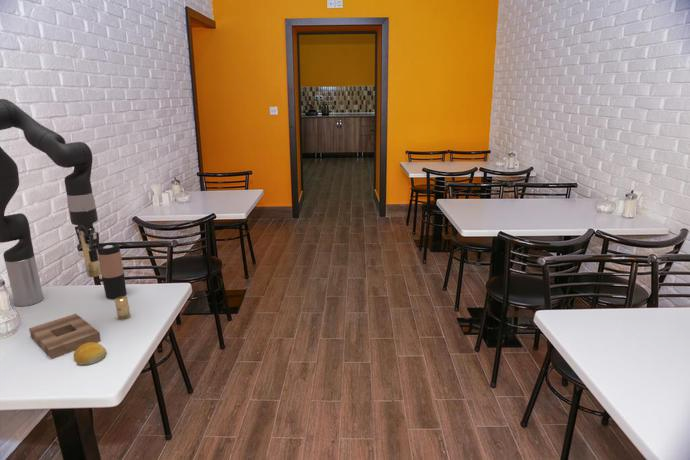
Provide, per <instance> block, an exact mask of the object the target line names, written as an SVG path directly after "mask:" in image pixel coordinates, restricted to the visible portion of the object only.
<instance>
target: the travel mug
mask: <svg viewBox="0 0 690 460" xmlns="http://www.w3.org/2000/svg"><path fill="white" fill-rule="evenodd" d="M120 248H121V247H120V243H118V242H105V243H102V244H99V249H97V253H98V258H99V264H100V270H101V275H100V276H101V280H102V285H103V289H104V290H103V291H104V293H105V298H106V299H107V300H115V298H117V297H121V296H127V287H126V279H125V272H124V266H123V260H122V253H121V249H120Z"/></svg>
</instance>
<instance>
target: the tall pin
mask: <svg viewBox="0 0 690 460" xmlns="http://www.w3.org/2000/svg"><path fill="white" fill-rule="evenodd" d="M80 238H81V243H82V246H81V249H82V253H83V259H84V264H85V265H84V266H85V269H86V275H87V277H88V278H95V277H99V276H102V275H101V269H100V263H99V257H98V261H95V262H91V261H90V257H89V252H88V247H87V244H85V243H84V239H83V236H82V235H81V234H80ZM87 241H89V240H87ZM93 246H94V244H93ZM97 255H98V252H97Z"/></svg>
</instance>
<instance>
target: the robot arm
mask: <svg viewBox="0 0 690 460" xmlns="http://www.w3.org/2000/svg"><path fill="white" fill-rule="evenodd" d="M12 128H16V129H19V130H22V133H23V135H24V139H25V140H26V141H27V143H29V145H31V146H32V147H33V148H35V149H37V150H39V151H41V152H42V153H43V154H46V155H47V157H48V158H49V159H50V160H51V161H52V162H53V163H54V164H55V165H57V166H58V167H61V168H65V169H66V168H67V169H68V168H73V171H72V172H71V173H70V174H68V175H66V176H65V177H64V185H65V192H66V198H67V199H66V201H67V202H66V203H67V208H68V213H69V218H70V222H71V224H72V225H74V230H75V233H76V236H77V240H78V244H79V245H81V247H82V243H81V238H80V234H81V235H82V236H83V239H84V243H85V244H87V247H88V252H89V257H90V261H91V262H95V261H98V258H99V257H98V255H97V253H98V251H97V249H99V245H100V233H99V232H97V231H96V228H95V227H94V225H93V224H95V223H96V222H98V220H99V218H98V217H99V216H98V211H97V205H96V199H95V196H94V193H93V187H92V183H91V177H92V176H91V175H92V168H93V160H94V159H93V152H92V149H90V146H89V145H88V144H87V143H85V142H83V141H75V142H70V143H69V142H68V143H67V142H66V140H65V138H64V137H63V136H62V135H61V134H59V133H57V132H55V131H54V130H52V129H50V128H48V127H46V126H44V125H42V124H41V123H39V122H38V121H36V120H35V119H34V118H33V117H32V116H30V115H29V114H28V113H26V112H25V111H24V110H23V109H22V108H20V107H19V106H18V105H16V104H15V103H13V102H12V101H11V100H8V99H4V98H0V131H4V130H9V129H12ZM19 185H20V175H19V168H18V165H17V163H16V162H15V160H14V159H13V158H12V157H11V156H10V155H9V154H8V153H7V152H6V151H5V150H4V149H3V148H2V147H1V146H0V243H1V244H3V243H8V242H9V243H10V242H14V241H18V242H17V243H16V244H15V245H13V246H12V247H10V248H8V249H6V250H5V251H4V252H3V259H4V265H5V268H6V272H7V276H8V280H9V281H8V282H9V285H10V289H11V294H12V297H13V301H14V302H13V303H14V305H15V306H17V307H27V306H32V305H35V304H37V303H40V302H41V301H43V300H44V295H43V294H44V293H43V290H42V288H43V287H42V284H41V280H40V275H39V271H38V266H37V261H36V257H35V253H34V246H33V241H32V234H31V228H30V223H29V220H28V218H27V216H26V215H25V214H24V213H14V214H9V215H5V212H6V208H7V206H8V204H9V203H10V201H11V200H12V198H13V197H14V196H15V194H16V193H17V192H18V189H19ZM87 240H89V241H87ZM93 244H94V246H93Z"/></svg>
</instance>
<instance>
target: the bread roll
mask: <svg viewBox="0 0 690 460" xmlns="http://www.w3.org/2000/svg"><path fill="white" fill-rule="evenodd" d="M106 355H107V349H106V348H105V347H104V346H103V345H102V344H100V343H99V342H96V343H95V342H89V343H85V344H83V345H81V346H80V347H78V348H77V349H76V350H74V351H73V359H74V360H75V363H76V364H77V365H79V366H87V365H93V364H96V363H98V362H99V361H101V360H102V359H103V358H105V357H106Z"/></svg>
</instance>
